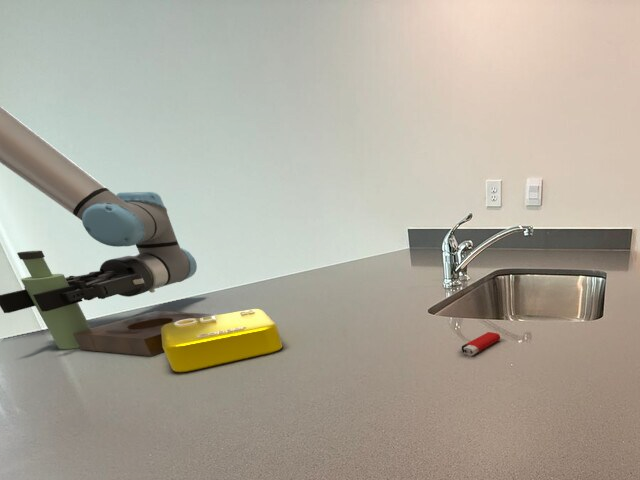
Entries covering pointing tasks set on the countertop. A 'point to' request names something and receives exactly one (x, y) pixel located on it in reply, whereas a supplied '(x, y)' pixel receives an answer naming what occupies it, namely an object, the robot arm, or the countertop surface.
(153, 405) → the countertop surface
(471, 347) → the lighter
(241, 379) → the countertop surface
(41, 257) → the bottle
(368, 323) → the countertop surface
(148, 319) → the hole board
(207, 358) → the element tile
